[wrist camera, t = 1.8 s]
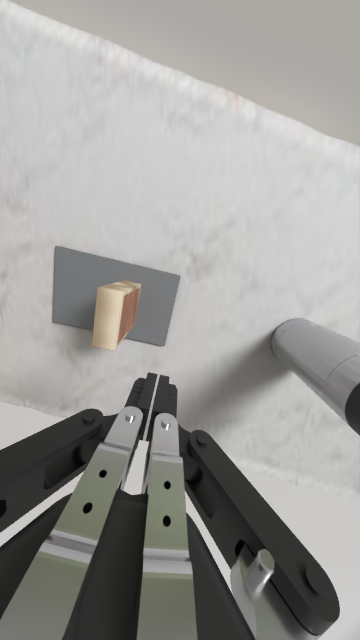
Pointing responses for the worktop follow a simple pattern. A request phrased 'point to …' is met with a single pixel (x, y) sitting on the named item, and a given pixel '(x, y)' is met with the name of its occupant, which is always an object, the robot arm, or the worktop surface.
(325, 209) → the worktop surface
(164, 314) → the rubber mat
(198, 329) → the worktop surface
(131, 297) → the cream brown rectangular block
